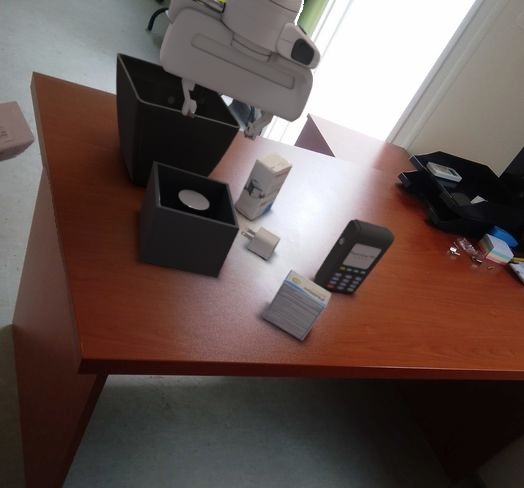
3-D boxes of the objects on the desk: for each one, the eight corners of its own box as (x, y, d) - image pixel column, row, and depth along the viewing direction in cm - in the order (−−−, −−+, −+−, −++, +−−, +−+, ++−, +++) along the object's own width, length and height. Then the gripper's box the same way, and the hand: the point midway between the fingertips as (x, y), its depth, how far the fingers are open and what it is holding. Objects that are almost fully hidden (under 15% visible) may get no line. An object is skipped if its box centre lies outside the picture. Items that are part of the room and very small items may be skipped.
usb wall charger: (266, 261, 88) (275, 245, 86) (235, 242, 88) (243, 225, 86) (272, 252, 91) (281, 237, 89) (243, 234, 91) (251, 218, 89)
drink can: (164, 249, 77) (179, 204, 71) (163, 230, 80) (177, 186, 74) (194, 255, 79) (211, 212, 73) (191, 237, 82) (207, 195, 76)
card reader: (316, 291, 89) (358, 229, 79) (310, 277, 91) (350, 215, 81) (354, 297, 93) (398, 239, 83) (347, 284, 96) (389, 226, 86)
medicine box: (308, 328, 80) (333, 293, 74) (301, 342, 77) (327, 307, 71) (269, 304, 80) (291, 267, 74) (261, 318, 77) (283, 280, 71)
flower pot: (100, 136, 93) (116, 48, 82) (187, 155, 103) (211, 79, 92) (118, 192, 83) (139, 100, 72) (212, 206, 93) (242, 128, 82)
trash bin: (140, 261, 73) (156, 206, 66) (139, 213, 81) (153, 160, 74) (217, 277, 79) (239, 228, 72) (209, 231, 87) (228, 183, 80)
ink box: (253, 198, 103) (275, 150, 95) (271, 211, 102) (294, 164, 94) (233, 207, 96) (255, 157, 89) (252, 221, 96) (275, 172, 88)
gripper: (178, -14, 50) (147, 109, 59) (332, 62, 59) (284, 159, 68) (174, -28, 54) (145, 89, 63) (319, 45, 63) (276, 139, 72)
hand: (218, 126), depth 65 cm, fingers open, 8 cm apart
